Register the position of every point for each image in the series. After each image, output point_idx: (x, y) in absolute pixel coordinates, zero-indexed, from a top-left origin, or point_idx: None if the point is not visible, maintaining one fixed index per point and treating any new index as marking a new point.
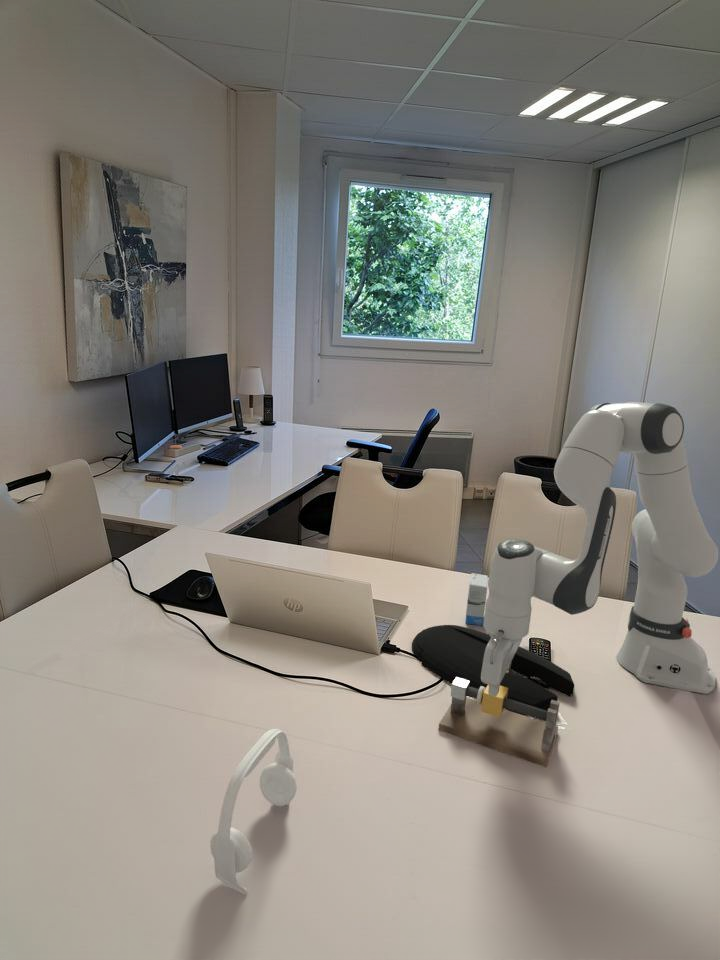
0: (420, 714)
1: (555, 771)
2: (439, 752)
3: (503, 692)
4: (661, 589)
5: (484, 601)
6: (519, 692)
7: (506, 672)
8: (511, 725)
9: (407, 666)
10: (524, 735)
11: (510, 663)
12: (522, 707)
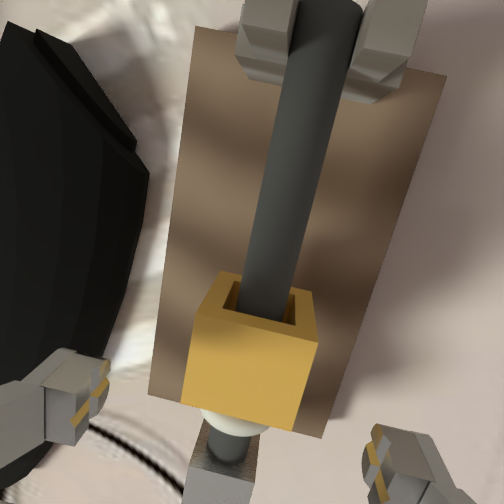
0: (264, 463)
1: (449, 42)
2: (424, 415)
3: (251, 338)
4: None
5: None
6: (63, 203)
7: (109, 366)
8: None
9: (61, 497)
10: None
11: (38, 388)
12: (300, 218)
